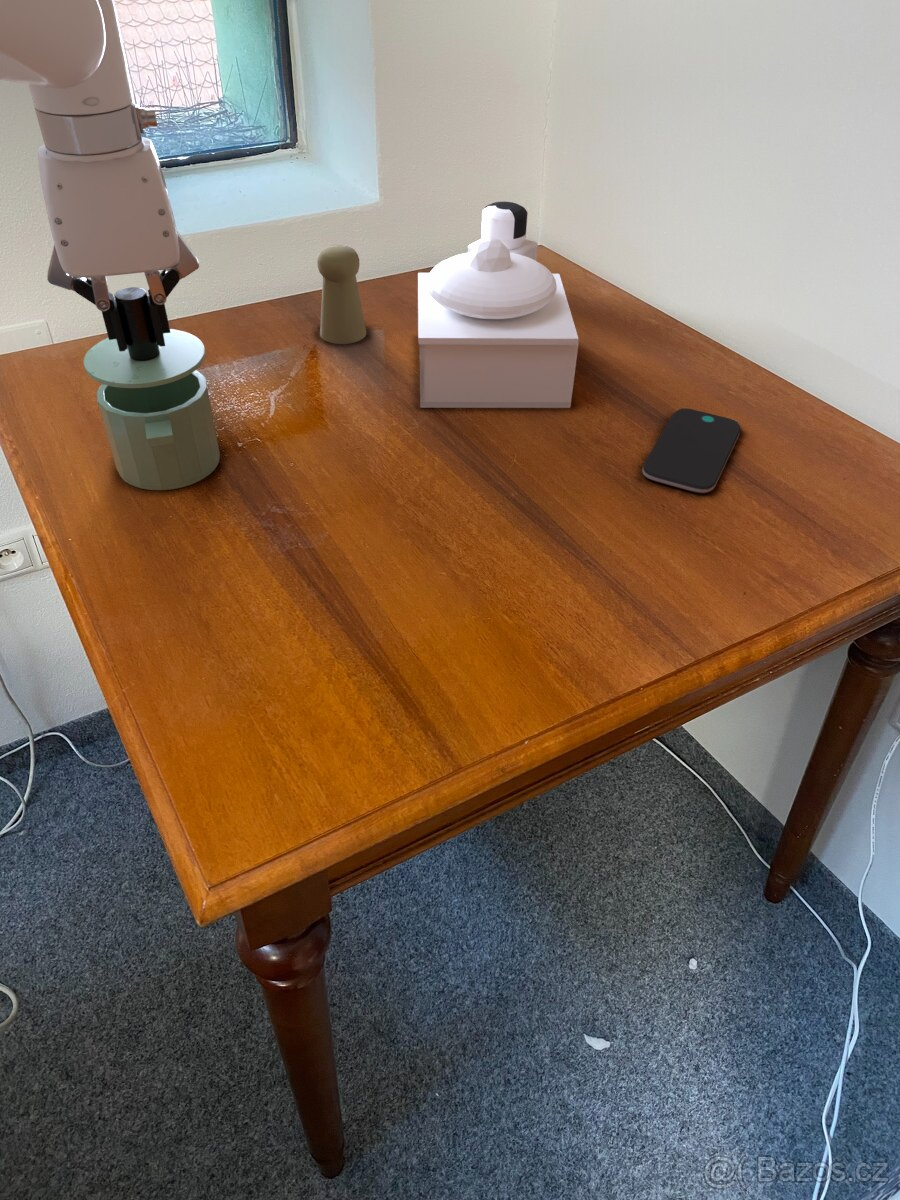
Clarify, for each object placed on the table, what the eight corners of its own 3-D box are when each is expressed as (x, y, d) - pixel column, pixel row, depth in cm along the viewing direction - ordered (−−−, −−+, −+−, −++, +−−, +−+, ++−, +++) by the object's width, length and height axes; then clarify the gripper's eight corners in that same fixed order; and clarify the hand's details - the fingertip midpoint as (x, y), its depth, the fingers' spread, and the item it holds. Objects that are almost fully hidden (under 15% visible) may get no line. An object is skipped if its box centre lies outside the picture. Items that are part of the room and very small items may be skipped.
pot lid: (87, 401, 79) (65, 327, 74) (85, 346, 87) (65, 275, 82) (213, 384, 82) (199, 312, 77) (200, 332, 90) (187, 263, 85)
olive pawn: (374, 328, 115) (371, 244, 108) (351, 347, 111) (346, 261, 104) (334, 319, 117) (328, 235, 110) (311, 337, 113) (302, 252, 106)
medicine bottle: (493, 279, 128) (497, 193, 120) (534, 292, 125) (542, 204, 117) (464, 295, 123) (467, 207, 115) (507, 309, 120) (513, 219, 112)
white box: (553, 338, 114) (566, 212, 103) (570, 410, 101) (588, 274, 90) (418, 337, 114) (417, 211, 103) (418, 410, 100) (417, 273, 90)
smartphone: (744, 421, 98) (712, 490, 88) (742, 428, 98) (710, 497, 89) (677, 404, 100) (638, 470, 90) (676, 411, 101) (637, 477, 91)
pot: (121, 513, 85) (98, 438, 79) (114, 430, 96) (94, 358, 90) (229, 495, 88) (215, 421, 82) (211, 416, 98) (197, 346, 93)
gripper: (189, 110, 75) (223, 315, 87) (-16, 123, 71) (51, 335, 83) (199, 135, 70) (234, 349, 82) (-22, 150, 66) (50, 372, 78)
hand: (141, 340), depth 83 cm, fingers closed on pot lid, 2 cm apart
